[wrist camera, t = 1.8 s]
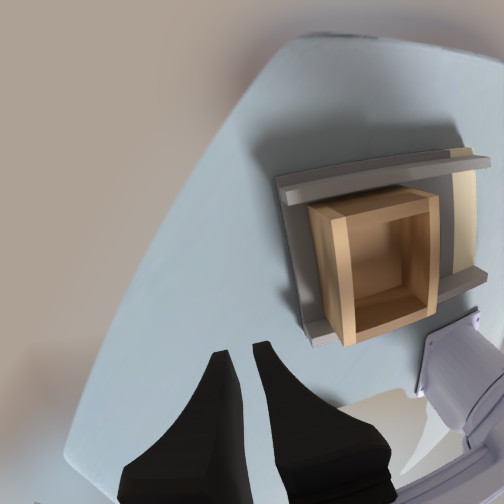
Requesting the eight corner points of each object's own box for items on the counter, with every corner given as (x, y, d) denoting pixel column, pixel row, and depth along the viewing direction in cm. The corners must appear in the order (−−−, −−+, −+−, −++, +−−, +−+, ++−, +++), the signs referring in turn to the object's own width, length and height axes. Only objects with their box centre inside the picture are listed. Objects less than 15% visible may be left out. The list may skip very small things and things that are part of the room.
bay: (466, 274, 23) (485, 287, 20) (303, 331, 23) (313, 354, 20) (465, 147, 19) (489, 149, 16) (274, 176, 19) (283, 181, 16)
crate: (410, 284, 21) (442, 310, 17) (323, 312, 21) (344, 347, 17) (406, 183, 19) (445, 194, 14) (306, 204, 18) (330, 219, 14)
